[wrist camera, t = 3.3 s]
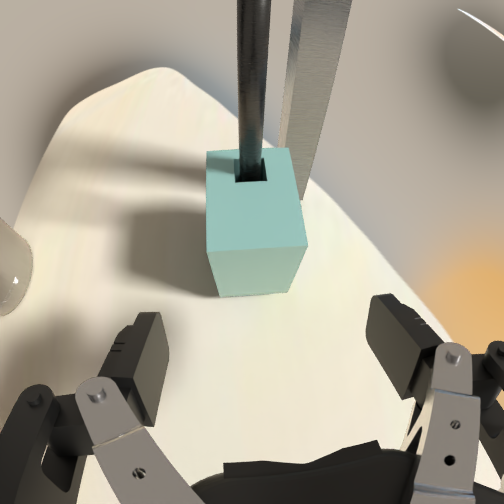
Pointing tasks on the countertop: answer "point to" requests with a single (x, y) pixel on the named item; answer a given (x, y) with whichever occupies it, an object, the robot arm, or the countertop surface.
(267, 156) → the sleeve
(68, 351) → the countertop surface
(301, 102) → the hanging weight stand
